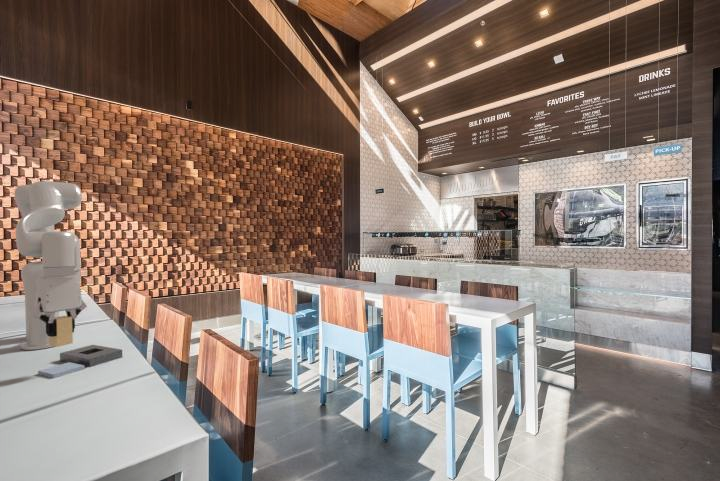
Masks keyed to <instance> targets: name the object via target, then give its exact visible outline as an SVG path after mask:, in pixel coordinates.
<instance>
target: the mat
mask: <svg viewBox="0 0 720 481" xmlns="http://www.w3.org/2000/svg"><path fill="white" fill-rule="evenodd" d="M84 369H85V366H84V365H80V364H76V363H71V362H64V363H61V364H58V365H53V366H50V367H48V368H43V369H40V370H37V372H38V375H41V376H45V377H48V378H52V379H55V378H58V377H61V376H64V375H68V374H72V373H74V372H77V371H81V370H84Z"/></svg>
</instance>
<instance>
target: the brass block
mask: <svg viewBox="0 0 720 481" xmlns="http://www.w3.org/2000/svg"><path fill="white" fill-rule="evenodd" d="M54 323H55V324H56V336H54V337H51V336H49V346H54V347H56V348H58V347H63V346H67V345H70V344H73V343H74V342H73V340H74V339H73V333H72V317H70V316H67V315H62V316H59V317H55V318H54Z"/></svg>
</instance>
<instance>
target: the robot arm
mask: <svg viewBox="0 0 720 481" xmlns="http://www.w3.org/2000/svg"><path fill="white" fill-rule="evenodd" d="M14 201H15V204H16V206H17V207H16V208H18V210H19V213H20V215H21V218H20V220H19V221H18V222H17V224H16V227H15V241H16V248H17V251H18V252H19V254H20V255H21V256H24V257H31V258H39V259H42V260H41V261H32V262H28V263H26V264H24V265H23V267H22V268H21V270H20V274H21V275H20V277H21V280H22V285H23V290H24V291H23V292H24V306H25V307H24V309H25V339H26V340H25V343H23V344H21V345H20V349H21V350H23V351H34V350H35V351H36V350H43V349H48V348H49V349H50V348H52V347H55V346H49V336H51V337H54V336H56V324H55V323H54V318H55V317H60V312H62V311H63V312H64V311H65V314H66V316H70V317H72V334H73V333H75V329H76V326H75V325H76V322H75V321H76V319H77V317H78V315H80V314H81V313H82V311H83V310H85V309H86V308H87V307H88V306H87V304H86V303H85V302H84V300H83V299H82V298H83V297H82V289H81V284H80V280H81V278H82V262H81V244H80V239H79V237H78V236H77V234H75V233H74V232H70V231H61V230H60V231H59V230H57V231H55V225H57V224H58V223H59V224H60V222H62V221H63V219H65V216H66V211H65V210H73V209H77V208H78V207H79V206H80V205H82V201H83V192H82V191H81V189H80V187H79V186H78V185H77V184H75V183H72V182H60V181H48V180H46V181H45V180H42V181H35V182H33V183H31V184H21V185H19V186H16V188H15V189H14Z"/></svg>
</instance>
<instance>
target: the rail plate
mask: <svg viewBox="0 0 720 481" xmlns="http://www.w3.org/2000/svg"><path fill="white" fill-rule="evenodd" d="M120 358H121V359H122V358H123V349H120V348H115V347H108V346H103V345H96V344H90V345H86V346H83V347H77V348H75V349H71V350H68V351H63V352H59V361H60V362H64V363H68V362H71V363H76V364H80V365H84V367H87V368H91V367H95V366H97V365H100V364H104V363H108V362H110V361H114V360H117V359H120Z"/></svg>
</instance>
